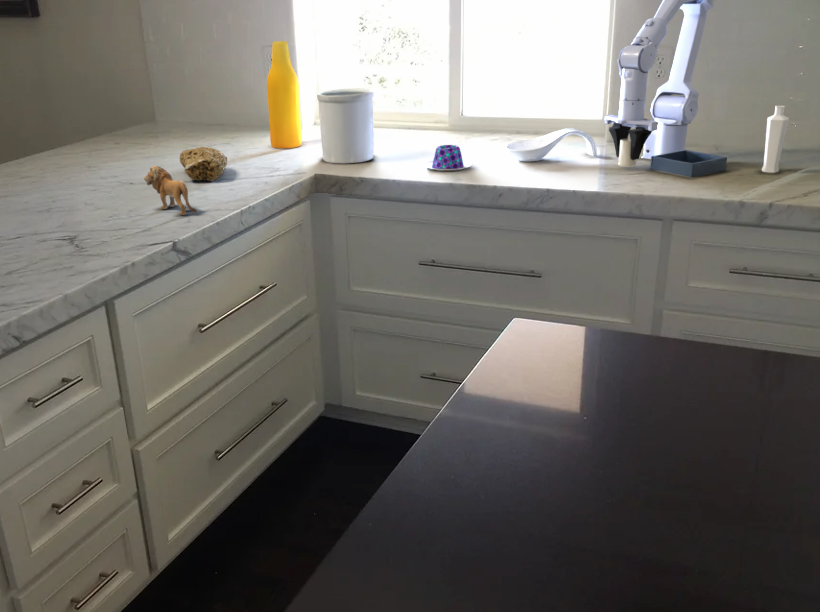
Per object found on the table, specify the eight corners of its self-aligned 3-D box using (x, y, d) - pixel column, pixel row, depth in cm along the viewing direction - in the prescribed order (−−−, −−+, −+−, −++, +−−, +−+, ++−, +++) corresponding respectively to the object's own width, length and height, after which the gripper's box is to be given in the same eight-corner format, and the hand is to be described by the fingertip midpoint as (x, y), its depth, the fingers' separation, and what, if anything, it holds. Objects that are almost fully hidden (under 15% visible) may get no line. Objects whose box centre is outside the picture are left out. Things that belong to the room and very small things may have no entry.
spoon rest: (512, 165, 218) (513, 136, 216) (498, 156, 229) (499, 129, 226) (602, 159, 221) (604, 131, 218) (584, 151, 232) (586, 124, 229)
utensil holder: (311, 163, 230) (307, 94, 223) (333, 152, 243) (330, 87, 236) (362, 165, 225) (360, 95, 218) (382, 154, 238) (381, 88, 231)
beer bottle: (274, 143, 260) (267, 40, 248) (304, 142, 258) (299, 40, 247) (267, 148, 251) (260, 43, 240) (298, 148, 250) (292, 42, 239)
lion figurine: (144, 208, 190) (139, 167, 187) (163, 203, 194) (158, 162, 190) (188, 217, 181) (183, 174, 178) (207, 212, 185) (202, 170, 182)
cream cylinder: (614, 165, 208) (617, 140, 206) (623, 162, 211) (626, 137, 208) (629, 167, 206) (632, 141, 203) (638, 164, 208) (641, 139, 206)
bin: (649, 170, 208) (651, 156, 207) (683, 163, 213) (685, 149, 212) (690, 178, 198) (692, 163, 197) (725, 171, 204) (727, 157, 203)
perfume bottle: (783, 174, 199) (794, 107, 193) (762, 174, 200) (772, 107, 194) (778, 170, 203) (788, 104, 197) (758, 170, 204) (768, 104, 198)
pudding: (439, 161, 227) (439, 140, 224) (480, 165, 220) (480, 144, 218) (415, 169, 218) (414, 148, 216) (457, 174, 211) (457, 152, 209)
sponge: (228, 186, 213) (233, 154, 229) (218, 157, 209) (225, 126, 225) (177, 197, 214) (186, 165, 230) (166, 168, 210) (176, 137, 226)
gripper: (597, 98, 206) (593, 155, 212) (645, 104, 195) (639, 164, 200) (618, 95, 209) (613, 151, 215) (666, 100, 198) (660, 160, 203)
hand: (627, 157), depth 208 cm, fingers closed on cream cylinder, 4 cm apart
